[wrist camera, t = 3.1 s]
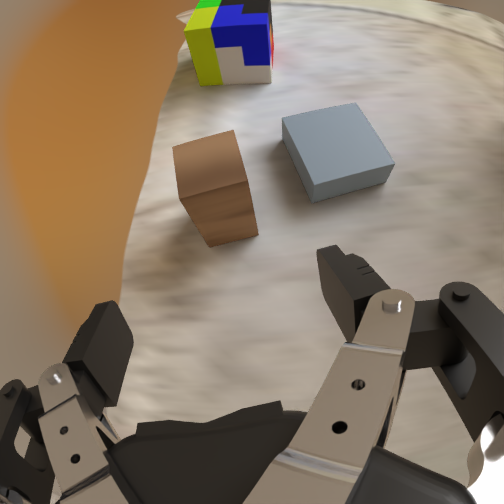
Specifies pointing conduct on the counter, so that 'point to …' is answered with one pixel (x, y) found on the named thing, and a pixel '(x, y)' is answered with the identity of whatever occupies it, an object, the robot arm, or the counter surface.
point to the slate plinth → (335, 151)
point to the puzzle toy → (231, 41)
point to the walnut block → (215, 188)
